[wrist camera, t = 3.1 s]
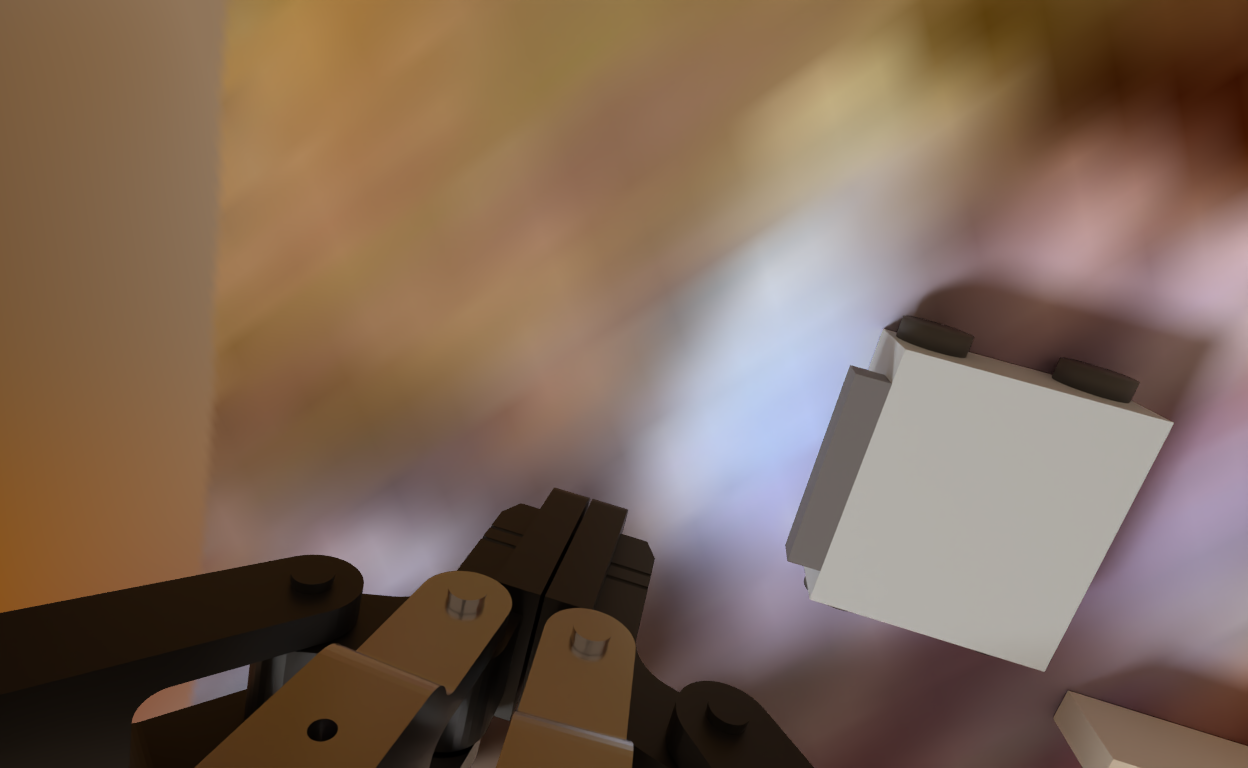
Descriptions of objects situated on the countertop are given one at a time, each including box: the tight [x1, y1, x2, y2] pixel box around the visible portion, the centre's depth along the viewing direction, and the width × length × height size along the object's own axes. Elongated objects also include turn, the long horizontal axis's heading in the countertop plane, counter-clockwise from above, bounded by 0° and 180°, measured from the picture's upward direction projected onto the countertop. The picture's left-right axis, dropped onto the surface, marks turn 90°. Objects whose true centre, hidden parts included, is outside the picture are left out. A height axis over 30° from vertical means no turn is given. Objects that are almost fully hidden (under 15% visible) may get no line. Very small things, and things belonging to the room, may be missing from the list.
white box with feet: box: [785, 316, 1174, 672], centre depth 21 cm, size 9×8×3 cm
